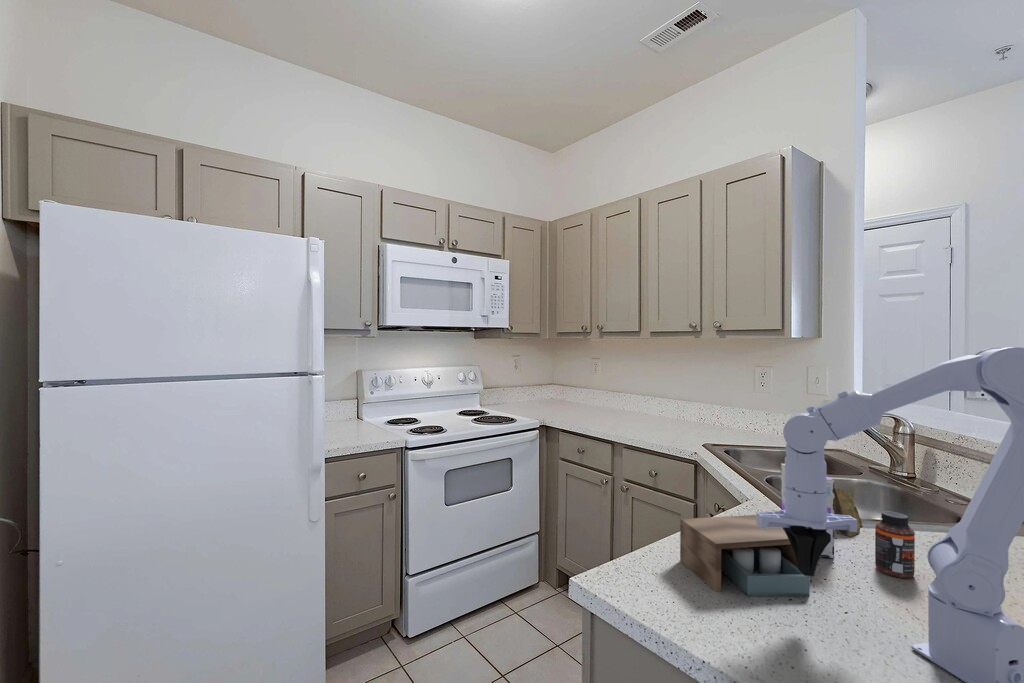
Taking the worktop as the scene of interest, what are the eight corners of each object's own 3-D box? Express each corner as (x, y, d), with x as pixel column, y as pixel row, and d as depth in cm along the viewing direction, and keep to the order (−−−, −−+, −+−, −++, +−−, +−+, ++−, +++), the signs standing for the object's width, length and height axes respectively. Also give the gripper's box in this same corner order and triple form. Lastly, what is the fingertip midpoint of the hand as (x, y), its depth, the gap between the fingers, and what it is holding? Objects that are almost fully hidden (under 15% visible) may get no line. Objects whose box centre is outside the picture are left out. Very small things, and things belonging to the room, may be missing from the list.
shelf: (809, 583, 84) (809, 537, 85) (716, 591, 81) (716, 543, 81) (763, 554, 96) (763, 514, 96) (680, 560, 93) (680, 519, 93)
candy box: (836, 559, 95) (835, 479, 95) (804, 556, 96) (804, 478, 96) (807, 533, 108) (807, 463, 108) (779, 531, 109) (779, 462, 110)
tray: (809, 596, 80) (809, 567, 80) (747, 596, 80) (747, 566, 80) (769, 564, 92) (769, 538, 92) (715, 563, 92) (715, 538, 92)
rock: (846, 509, 118) (812, 505, 117) (867, 489, 113) (832, 484, 112) (874, 549, 109) (837, 545, 108) (898, 529, 105) (860, 525, 103)
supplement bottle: (908, 582, 85) (908, 522, 85) (870, 569, 90) (870, 512, 90) (919, 574, 88) (919, 515, 89) (881, 562, 93) (881, 506, 94)
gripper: (770, 494, 70) (770, 583, 70) (870, 497, 69) (871, 588, 69) (750, 481, 78) (751, 562, 77) (841, 484, 76) (841, 566, 76)
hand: (806, 573), depth 74 cm, fingers closed
